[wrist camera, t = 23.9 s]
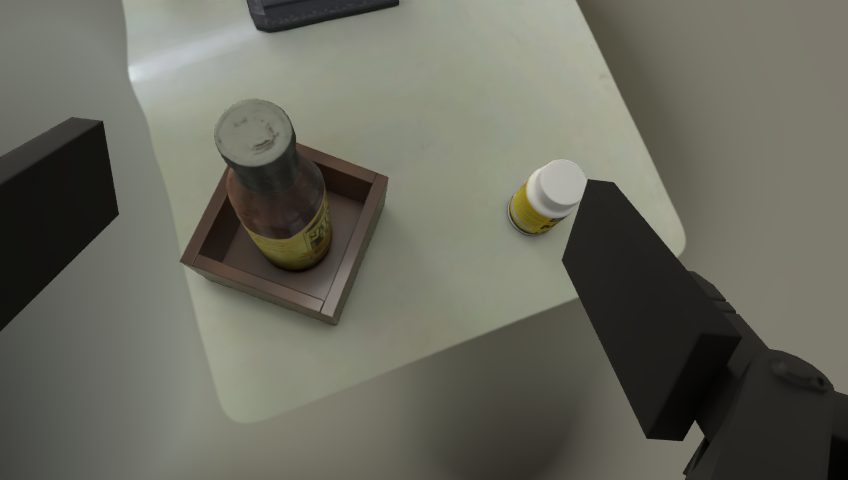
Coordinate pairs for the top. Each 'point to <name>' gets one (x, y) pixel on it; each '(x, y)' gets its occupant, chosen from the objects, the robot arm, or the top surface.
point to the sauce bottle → (274, 185)
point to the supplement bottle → (547, 197)
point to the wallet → (307, 11)
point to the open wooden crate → (300, 291)
